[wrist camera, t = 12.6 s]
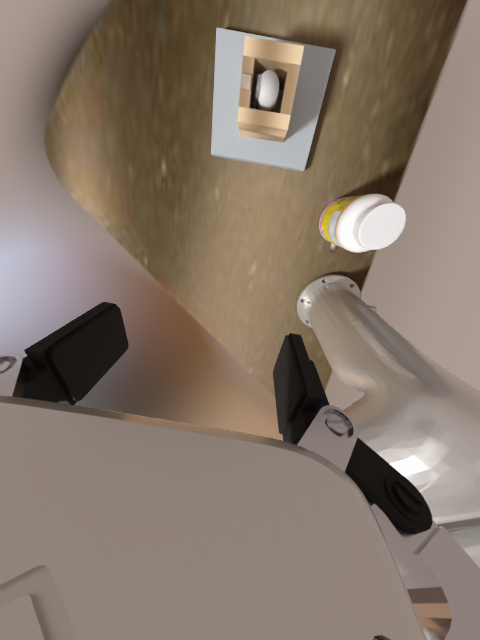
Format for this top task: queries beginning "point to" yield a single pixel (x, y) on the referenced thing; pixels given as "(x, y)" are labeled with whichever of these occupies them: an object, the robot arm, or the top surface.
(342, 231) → the supplement bottle
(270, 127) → the wooden hollow box
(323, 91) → the shaft block
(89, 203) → the top surface
